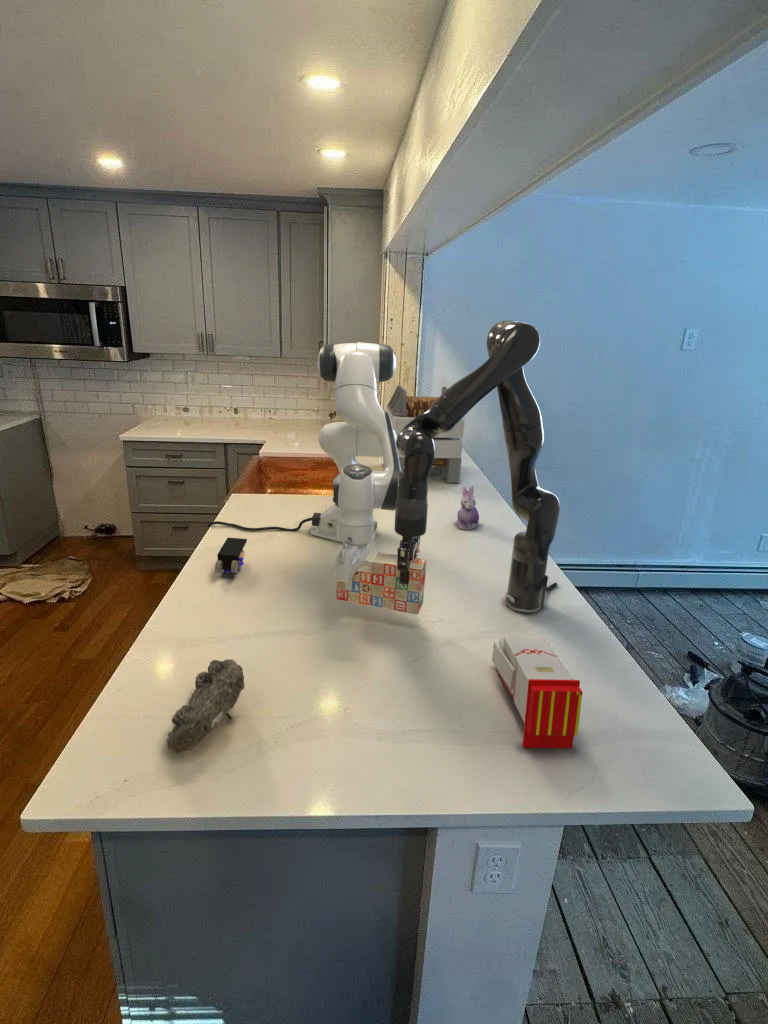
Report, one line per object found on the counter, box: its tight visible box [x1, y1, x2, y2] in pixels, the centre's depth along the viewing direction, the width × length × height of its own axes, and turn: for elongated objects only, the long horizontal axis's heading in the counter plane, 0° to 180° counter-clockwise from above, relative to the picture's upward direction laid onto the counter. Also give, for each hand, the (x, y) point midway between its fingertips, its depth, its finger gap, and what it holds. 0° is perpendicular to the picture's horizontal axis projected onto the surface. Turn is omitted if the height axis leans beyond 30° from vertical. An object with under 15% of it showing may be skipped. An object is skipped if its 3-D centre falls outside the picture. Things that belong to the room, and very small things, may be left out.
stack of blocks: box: [335, 551, 427, 615], centre depth 141 cm, size 21×6×12 cm, turn 74°
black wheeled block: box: [214, 537, 248, 578], centre depth 166 cm, size 7×8×15 cm
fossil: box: [166, 658, 245, 754], centre depth 106 cm, size 22×10×15 cm
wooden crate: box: [382, 384, 465, 484], centre depth 268 cm, size 34×33×41 cm
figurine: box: [456, 485, 480, 530], centre depth 208 cm, size 9×10×15 cm
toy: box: [491, 636, 583, 749], centre depth 115 cm, size 12×13×30 cm
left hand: (354, 582), depth 143 cm, fingers closed on stack of blocks, 6 cm apart
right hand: (407, 577), depth 139 cm, fingers closed on stack of blocks, 6 cm apart
